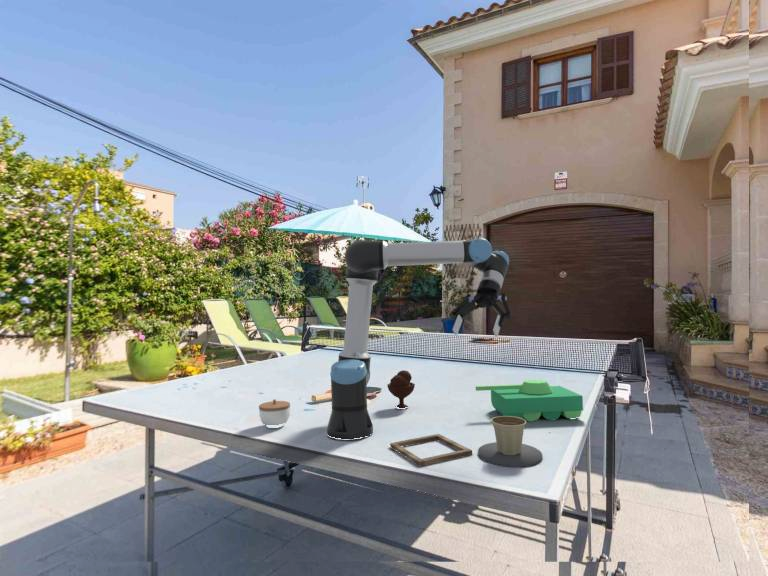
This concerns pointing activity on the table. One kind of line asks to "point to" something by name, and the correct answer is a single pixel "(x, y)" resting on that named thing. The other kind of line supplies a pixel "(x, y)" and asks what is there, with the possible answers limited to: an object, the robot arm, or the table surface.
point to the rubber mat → (510, 456)
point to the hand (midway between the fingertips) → (474, 333)
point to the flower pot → (509, 434)
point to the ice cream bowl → (401, 386)
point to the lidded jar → (274, 412)
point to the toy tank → (535, 400)
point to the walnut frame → (460, 453)
